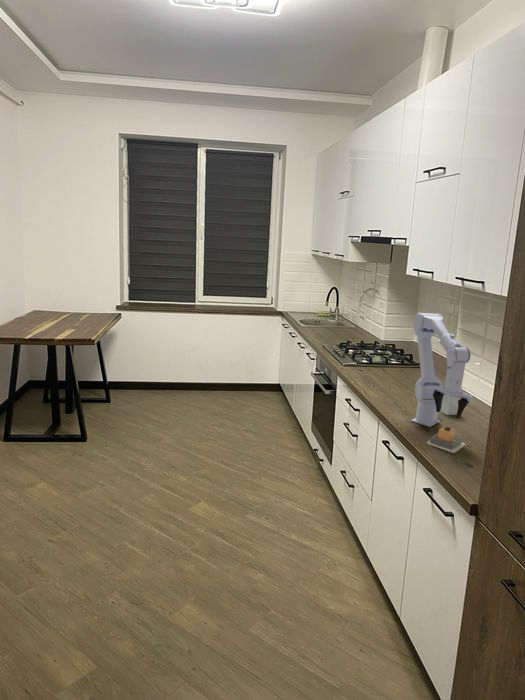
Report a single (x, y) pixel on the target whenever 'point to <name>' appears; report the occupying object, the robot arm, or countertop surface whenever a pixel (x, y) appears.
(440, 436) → the block
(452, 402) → the white block
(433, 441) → the end holder
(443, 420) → the countertop surface
